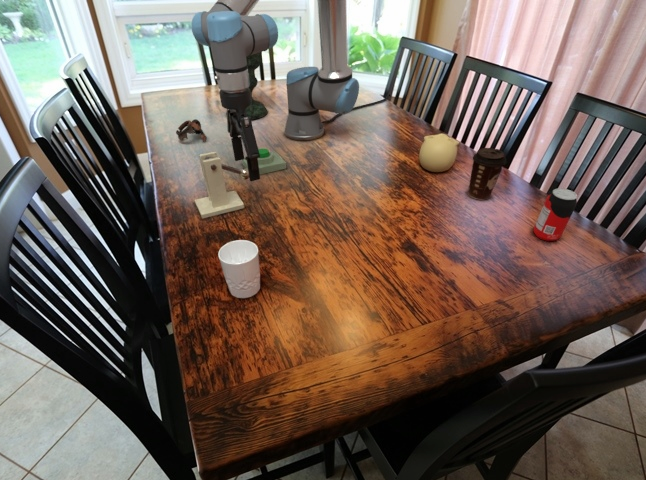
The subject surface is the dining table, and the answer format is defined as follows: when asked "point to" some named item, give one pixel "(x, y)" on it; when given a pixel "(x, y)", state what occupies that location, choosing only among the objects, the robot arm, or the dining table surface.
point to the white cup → (241, 267)
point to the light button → (263, 153)
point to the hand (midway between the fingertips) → (247, 169)
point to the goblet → (256, 107)
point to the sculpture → (438, 152)
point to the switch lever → (234, 170)
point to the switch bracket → (216, 189)
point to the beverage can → (555, 214)
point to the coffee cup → (485, 172)
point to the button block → (269, 163)
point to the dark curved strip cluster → (190, 129)
